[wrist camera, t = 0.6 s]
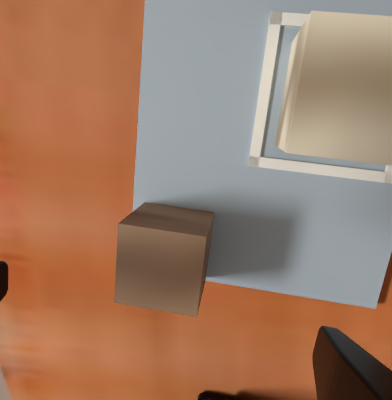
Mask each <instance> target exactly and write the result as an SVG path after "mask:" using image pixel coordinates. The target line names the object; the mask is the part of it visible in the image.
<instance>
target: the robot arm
mask: <svg viewBox="0 0 392 400" xmlns="http://www.w3.org/2000/svg"><path fill="white" fill-rule="evenodd" d="M7 290H8V265H7V263H6V262H4V261H0V301H1V300H2V299H3V298H4V296H5V295H6V293H7ZM312 359H313V369H314V376H315V384H316V391H317V399H318V400H392V371H391V370H390V369H389V368H387V367H386V366H385V365H383V364H382V363H381V362H380V361H378V360H377V359H376V358H374V357H373V356H372V355H371V354H369V353H368V352H367V351H365V350H364V349H363V348H362V347H360V346H359V345H358V344H356V343H355V342H354V341H353V340H351V339H350V338H349V337H347V336H346V335H345V334H344V333H342V332H341V331H340V330H338V329H336V328H332V327H327V326H321V327H320V329H319V331H318V335H317V339H316V343H315V347H314V351H313V358H312ZM198 400H239V399H234V398H229V397H224V396H219V395H215V394H210V393H200V394H199V396H198Z"/></svg>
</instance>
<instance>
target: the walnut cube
mask: <svg viewBox="0 0 392 400" xmlns="http://www.w3.org/2000/svg"><path fill="white" fill-rule="evenodd" d="M213 218H214V212H210V211H203V210H196V209H188V208H181V207H174V206H167V205H160V204H153V203H146V202H144V203H143V204H142V205H141V206H139V207H138V208H137V209H136V210H134V211H133V212H132V213H131V214H130V215H128V216H127V217H126V218H125V219H123V220H122V221H121V222H120V223H118V241H117V262H116V282H115V303H120V304H126V305H131V306H137V307H142V308H148V309H154V310H159V311H165V312H170V313H176V314H181V315H187V316H193V317H197V314H198V310H199V306H200V301H201V297H202V293H203V288H204V284H205V280H206V274H207V266H208V258H209V250H210V242H211V234H212V226H213Z"/></svg>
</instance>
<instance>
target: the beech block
mask: <svg viewBox="0 0 392 400" xmlns="http://www.w3.org/2000/svg"><path fill="white" fill-rule="evenodd" d="M275 146H277V147H278V148H280V149H281V150H283V151H284V152H286V153H290V154H298V155H307V156H315V157H324V158H332V159H340V160H349V161H357V162H366V163H374V164H383V165H391V166H392V16H382V15H367V14H353V13H339V12H324V11H311V12H310V14H309V16H308V17H307V19H306V21H305V22H304V24H303V25H302V27H301V29H300V30H299V32H298V33H297V35H296V37H295V38H294V40H293V41H292V45H291V51H290V57H289V63H288V69H287V75H286V81H285V87H284V93H283V99H282V106H281V112H280V118H279V124H278V130H277V136H276V142H275Z"/></svg>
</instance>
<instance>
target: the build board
mask: <svg viewBox="0 0 392 400" xmlns="http://www.w3.org/2000/svg"><path fill="white" fill-rule="evenodd" d="M311 11H324V12H339V13H353V14H367V15H382V16H392V0H145V11H144V28H143V45H142V62H141V79H140V96H139V112H138V129H137V146H136V163H135V180H134V197H133V211H134V210H136V209H137V208H138V207H139V206H141V205H142V204H143V203H144V202H146V203H153V204H160V205H167V206H174V207H181V208H188V209H196V210H203V211H210V212H214V218H213V226H212V234H211V242H210V250H209V258H208V266H207V274H206V280H205V281H211V282H217V283H223V284H229V285H235V286H241V287H247V288H253V289H259V290H265V291H271V292H277V293H283V294H289V295H295V296H301V297H307V298H313V299H319V300H325V301H332V302H338V303H344V304H350V305H356V306H362V307H368V308H374V309H376V306H377V302H378V299H379V295H380V292H381V288H382V284H383V281H384V277H385V274H386V270H387V266H388V263H389V259H390V256H391V252H392V166H391V165H383V164H374V163H366V162H357V161H349V160H340V159H332V158H324V157H315V156H307V155H298V154H290V153H286V152H284V151H283V150H281V149H280V148H278V147H277V146H275V142H276V136H277V130H278V124H279V118H280V112H281V106H282V99H283V93H284V87H285V81H286V75H287V69H288V63H289V57H290V51H291V45H292V41H293V40H294V38H295V37H296V35H297V33H298V32H299V30H300V29H301V27H302V25H303V24H304V22H305V21H306V19H307V17H308V16H309V14H310V12H311Z"/></svg>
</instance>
